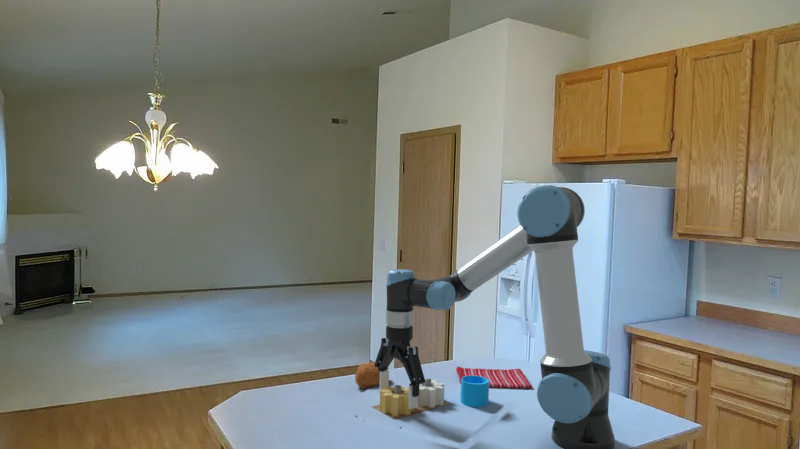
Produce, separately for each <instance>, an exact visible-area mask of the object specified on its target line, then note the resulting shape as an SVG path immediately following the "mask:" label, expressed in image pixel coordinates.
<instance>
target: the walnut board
mask: <svg viewBox="0 0 800 449" xmlns="http://www.w3.org/2000/svg"><path fill="white" fill-rule="evenodd" d="M431 380H432V379H431V378H425V383H424V386H425V387H431ZM401 386H402V385H399V384H396V385H394V386H393V387H394V394H401ZM450 405H453V403H452V402H450V401H447V400H445V399H444V404H443V405H441V406H440V405H435V407H432V408H430V407H429V406H423V407H419V406H418V407H416V408H415V412H414V411H411V414H409V415H404V414H398V416H392V414H390V413H386V414H384V413H383V412H382V409H380V404H377V405H373V406H372V408H373V409H375V410H377V411H378V412H381V413H382V414H384V415H386V416H388V417H389V418H391V419H393V420H398V419H401V418H406V417H409V416H413V415H417V414H420V413H424V412H425V413H426V412H428V411H432V410H435V409H438V408H443V407H446V406H450Z"/></svg>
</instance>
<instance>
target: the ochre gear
mask: <svg viewBox="0 0 800 449" xmlns="http://www.w3.org/2000/svg"><path fill="white" fill-rule="evenodd" d="M400 386H401V394H394V386H393V387H392V386H391V385H389V387H385V390H382V389H381V391H380V394H379V405H380V409H382V412H383V413H382V412H381V413H382V414H383V415H385V414H386V413H390V414H392V416H398V414H404V415H409V414H411V411H414V412H415V408H412V409H409V408H408V406H409V387H407V388H406V387H404V386H403V385H400Z"/></svg>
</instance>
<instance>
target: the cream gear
mask: <svg viewBox="0 0 800 449" xmlns="http://www.w3.org/2000/svg"><path fill="white" fill-rule="evenodd" d="M444 400H445V383H444V382H439V381H438V380H436V379H431V387H425V386H424V383H422V384H420V385H419V396H418V406H419V407H423V406H429V407H430V408H432V407H435V405H440V406H441V405H443V404H444Z"/></svg>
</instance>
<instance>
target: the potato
mask: <svg viewBox="0 0 800 449" xmlns="http://www.w3.org/2000/svg"><path fill="white" fill-rule="evenodd" d="M374 364H375V362H366V363H361V364H360V365H359V366H358V368H357V369H356V372H355V375H354V377H355V383H356V385H357V386H358V387H359V388H361V389H370V388H371V389H372V388H374V387H376V386H380V381H379V370H378V368H377V367H375V365H374ZM386 370H388V369H386Z"/></svg>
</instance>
